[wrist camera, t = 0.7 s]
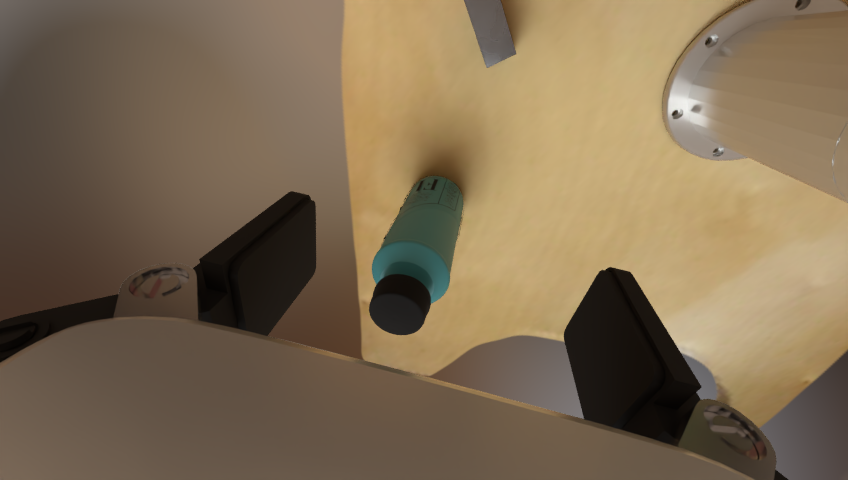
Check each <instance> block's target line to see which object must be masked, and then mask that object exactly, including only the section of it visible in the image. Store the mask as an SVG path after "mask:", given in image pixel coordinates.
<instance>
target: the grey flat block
mask: <svg viewBox="0 0 848 480" xmlns="http://www.w3.org/2000/svg"><path fill="white" fill-rule="evenodd" d="M464 2H465V4H466V7H467V10H468V13H469V16H470V19H471V22H472V25H473V28H474V31H475V34H476V37H477V40H478V43H479V46H480V49H481V52H482V55H483V58H484V61H485V64H486V67H487V68H488V67H490V66H492V65H494V64H496V63H498V62H500V61H502V60H505V59H507V58H509V57H511V56H513V55H515V54H516V51H515V48H514V44H513V41H512V38H511V34H510V31H509V27H508V24H507V21H506V17H505V14H504V10H503V7H502V4H501V0H464Z"/></svg>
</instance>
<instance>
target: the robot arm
mask: <svg viewBox="0 0 848 480" xmlns="http://www.w3.org/2000/svg"><path fill="white" fill-rule="evenodd" d="M796 2H797V5H796ZM795 5H796V6H795ZM707 38H709V42H708V43H707V44H705V41H706V39H707ZM674 110H676V112H675V114H673V115H672V113H673V111H674ZM662 111H663V120H664V123H665V127H666V130H667V132H668V133H669V135H670V136H671V138H672V139H673V141H674V142H676V143H677V144H678V145H679V146H680V147H681V148H683V149H684V150H686V151H688V152H689V153H691V154H694V155H696V156H699V157H701V158H705V159H710V160H716V161H722V160H738V159H744V158H750V159H752V160H755V161H757V162H759V163H761V164H763V165H766V166H768V167H770V168H772V169H774V170H777V171H779V172H781V173H783V174H785V175H788V176H790V177H792V178H794V179H796V180H799V181H801V182H803V183H805V184H807V185H810V186H812V187H814V188H816V189H818V190H821V191H823V192H825V193H827V194H829V195H831V196H834V197H836V198H838V199H840V200H842V201H845V202H847V203H848V6H847V5H846V3H845V2H843V1H841V0H751V1H749V2H747V3H744V4H742V5H740V6H738V7H736V8H734V9H733V10H731V11H729V12H728V13H726V14H725V15H723V16H721V17H720V18H718V19H717V20H716V21H715V22H713V23H712V24H711V25H710V26H708V27H707V28H706V29H705V30H703V31H702V32H701V33H700V34H699V35H698V37H697V38H696V39H695V40H694V41H693V42H692V43H691V44H690V45H689V46H688V47H687V49H686V50H685V51H684V53H683V54H682V56H681V57H680V58H679V60H678V61H677V63H676V65H675V67H674V69H673V71H672V72H671V74H670V76H669V79H668V82H667V85H666V88H665V91H664V96H663V103H662ZM315 211H316V210H315V202H314V201H312V200H311V198H310V196H309V195H305V194H301V193H297V192H289V193H288V194H286V195H285V196H284V197H282V198H281V199H280V200H278V201H277V202H276V203H274V204H273V205H271V206H270V207H269V208H267V209H266V210H265V211H264V212H262V213H261V214H259V215H258V216H257V217H255V218H254V219H253V220H251V221H250V222H249V223H247V224H246V225H245V226H243V227H242V228H241V229H239V230H238V231H237V232H235V233H234V234H233V235H231V236H230V237H229V238H227V239H226V240H225V241H223V242H222V243H221V244H219V245H218V246H217V247H215V248H214V249H212V250H211V251H210V252H208V253H207V254H206V255H204V256H203V257H202V258H200V259H199V260H200V263H199V264H198V265H197V266H195V267H194V268H191V267H190V266H187V265H185V264H179V263H164V264H158V265H153V266H149V267H147V268H144V269H141V270H139V271H137V272H135V273H134V274H132V275H131V276H129V277H128V278H127V279H126V280H125V281H124V282H123V283H122V285H121V288H120V290H119V294H117V295H112V296H108V297H103V298H99V299H95V300H89V301H85V302H80V303H75V304H71V305H66V306H62V307H58V308H52V309H48V310H43V311H39V312H35V313H29V314H25V315H20V316H17V317H13V318H9V319H6V320H3V321H1V322H0V480H788V479H787V478H785V477H784V476H783V475H782V474H780V473H779V472H778V471H776V470H775V468H776V455H775V451H774V449H773V447H772V445H771V443H770V442H769V440H768V439H767V438H766V436H765V435H764V434H763V432H762V431H761V430H760V429H759V428H758V427H757V426H756V425H755V424H754V423H753V422H752V421H751V420H749V419H748V418H747V417H745V416H744V415H743V414H741V413H740V412H739V411H737V410H735V409H734V408H732V407H730V406H729V405H727V404H724V403H722V402H719V401H717V400H711V399H703V400H700V398H699V396H698V395H697V393H696V392H697V391H698V390H699V389H700V388H701V385H700V384H699V382H698V380H697V379H696V377H695V375H694V374H693V372H692V371H691V369H690V367H689V366H688V364H687V362H686V361H685V359H684V358H683V356H682V354H681V353H680V351H679V349H678V348H677V346H676V345H675V343H674V341H673V340H672V338H671V336H670V335H669V333H668V332H667V330H666V328H665V327H664V325H663V324H662V322H661V320H660V319H659V317H658V315H657V314H656V312H655V311H654V309H653V307H652V306H651V304H650V302H649V301H648V299H647V298H646V296H645V294H644V293H643V291H642V290H641V288H640V286H639V285H638V283H637V281H636V280H635V278H634V277H633V275H632V274H631V273H630V272H628V271H624V270H620V269H616V268H612V267H609V268H607V269H606V270H601V271H600V272H599V273H598V275H597V276H596V278H595V280H594V281H593V283H592V285H591V286H590V288H589V290H588V291H587V293H586V295H585V297H584V298H583V300H582V302H581V303H580V305H579V307H578V308H577V310H576V312H575V313H574V315H573V317H572V318H571V320H570V322H569V323H568V325H567V327H566V329H565V332H564V341H565V345H566V349H567V353H568V356H569V361H570V364H571V368H572V372H573V376H574V380H575V384H576V388H577V392H578V396H579V400H580V404H581V408H582V412H583V416H584V419H581V418H578V417H573V416H570V415H566V414H562V413H559V412H555V411H552V410H548V409H544V408H540V407H537V406H533V405H529V404H526V403H522V402H518V401H514V400H511V399H507V398H503V397H500V396H496V395H492V394H489V393H485V392H481V391H477V390H473V389H470V388H466V387H462V386H458V385H455V384H451V383H447V382H443V381H440V380H436V379H432V378H428V377H424V376H421V375H417V374H413V373H409V372H406V371H402V370H398V369H394V368H390V367H387V366H383V365H379V364H375V363H371V362H367V361H363V360H359V359H356V358H352V357H348V356H344V355H340V354H336V353H332V352H329V351H325V350H321V349H317V348H313V347H309V346H305V345H301V344H298V343H293V342H290V341H286V340H281V339H278V338H274V337H269V336H268V334H269V333H270V332H271V330H272V329H273V328H274V326H275V325H276V323H277V322H278V321H279V320H280V319H281V317H282V316H283V315H284V313H285V312H286V311H287V309H288V308H289V307H290V305H291V304H292V303H293V301H294V300H295V299H296V297H297V296H298V295H299V293H300V292H301V291H302V289H303V288H304V287H305V286H306V284H307V283H308V281H309V280H310V279H311V277H312V276H313V275H314V272H315V269H316V212H315Z"/></svg>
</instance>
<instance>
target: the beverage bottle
mask: <svg viewBox="0 0 848 480" xmlns="http://www.w3.org/2000/svg"><path fill="white" fill-rule="evenodd" d="M410 191H411V192H410ZM410 191H409V192H410V194H409V196H408V195H407V196H408V197H407V196H406V197H407V199H406V198H405V199H406V201H405V202H404V204H403V206H402V207H401V208H400V212H399V214H398V216H397V217H396V218H395V221H394V223H393V225H392V227H391V228H390V230H388V231H389V232H387V233H388V234H387V236H385V238H384V239H385V241H383V244H382V246H381V248H380V250H379V251H378V252H377V254H376V255H375V257H374V260H373V264H372V274H373V278H374V280H375V282H376V284H377V285H376V287H375V289H374V292H373V297H372V299H371V302H370V306H369V312H370V316H371V318H372V320H373V321H374V322H375V324H376V325H377V326H378V327H380V328H381V329H382V330H384V331H386V332H389V333H391V334H396V335H408V334H412V333H414V332H416V331H418V330H419V329H420V328H421V327H422V325H423V324H424V321H425V318H426V315H427V314H428V312H429V309H430V305H431V303H433V302H435V301H437V300H438V299H440V298H441V297H442V296H443V295H444V294H445V292H446V291H447V289H448V286H449V282H450V272H451V266H452V261H453V255H454V250H455V244H456V240H457V236H458V233H460V232H458V231H459V226H460V222H461V223H462V221H461V215H462V210H463V197H462V194H461V192H460V190H459V189H458V186H457V185H456V184H455V183H453V182H452V181H450V180H449V179H447V178H444V177H441V176H429V177H428V176H427V177H426V178H424V179H421V180H420V181H418V182H417V183H416V184H415V185H414V187H412V190H410ZM463 212H464V211H463ZM462 216H463V215H462ZM462 218H463V217H462ZM390 226H391V225H390Z"/></svg>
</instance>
